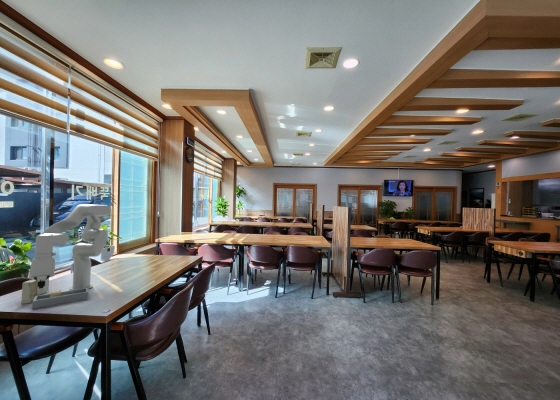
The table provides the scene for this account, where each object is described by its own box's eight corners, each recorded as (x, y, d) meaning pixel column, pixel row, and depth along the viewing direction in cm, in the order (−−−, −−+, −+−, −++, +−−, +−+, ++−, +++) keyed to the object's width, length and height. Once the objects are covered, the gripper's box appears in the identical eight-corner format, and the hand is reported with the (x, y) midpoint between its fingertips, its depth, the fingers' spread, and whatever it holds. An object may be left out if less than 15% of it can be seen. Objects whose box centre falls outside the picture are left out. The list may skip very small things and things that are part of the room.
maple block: (50, 298, 143) (51, 291, 143) (60, 296, 146) (61, 289, 146) (49, 300, 139) (50, 293, 140) (60, 298, 142) (60, 291, 142)
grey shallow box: (35, 303, 141) (35, 295, 141) (87, 294, 156) (87, 287, 156) (32, 309, 133) (32, 301, 133) (87, 299, 148) (88, 291, 148)
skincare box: (30, 303, 141) (31, 282, 141) (20, 304, 140) (21, 282, 140) (37, 299, 147) (38, 279, 147) (28, 300, 146) (29, 279, 146)
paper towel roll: (30, 296, 152) (32, 262, 153) (33, 293, 157) (35, 260, 158) (46, 294, 156) (47, 260, 157) (48, 291, 161) (50, 259, 162)
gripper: (61, 253, 147) (59, 284, 146) (26, 256, 138) (23, 288, 136) (60, 255, 141) (58, 287, 140) (23, 258, 132) (21, 292, 131)
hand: (41, 287), depth 138 cm, fingers closed
